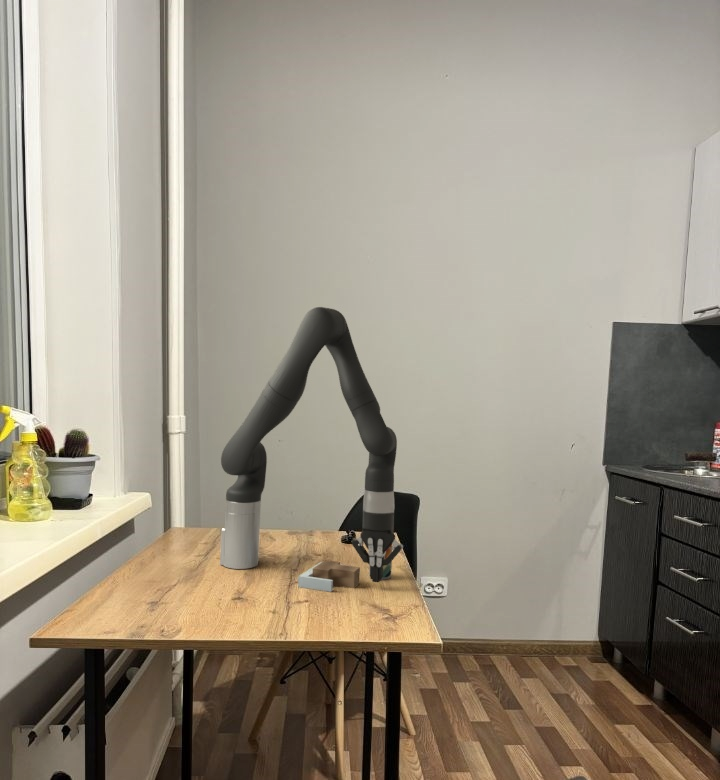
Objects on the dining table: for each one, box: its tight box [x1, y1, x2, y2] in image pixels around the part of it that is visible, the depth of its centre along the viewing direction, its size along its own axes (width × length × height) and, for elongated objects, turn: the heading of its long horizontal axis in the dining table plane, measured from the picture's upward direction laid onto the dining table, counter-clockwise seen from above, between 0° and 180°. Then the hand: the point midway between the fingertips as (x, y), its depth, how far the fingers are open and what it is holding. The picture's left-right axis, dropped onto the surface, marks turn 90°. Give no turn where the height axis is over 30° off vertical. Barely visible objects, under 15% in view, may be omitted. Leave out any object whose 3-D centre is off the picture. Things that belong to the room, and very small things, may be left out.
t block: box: [312, 559, 361, 589], centre depth 142 cm, size 10×8×4 cm
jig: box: [297, 561, 349, 593], centre depth 143 cm, size 8×14×2 cm, turn 161°
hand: (376, 581), depth 139 cm, fingers closed
